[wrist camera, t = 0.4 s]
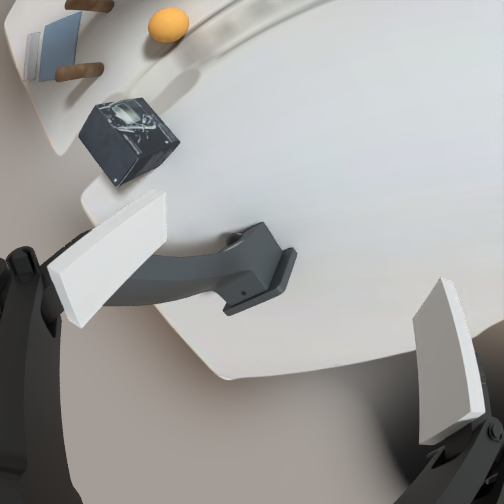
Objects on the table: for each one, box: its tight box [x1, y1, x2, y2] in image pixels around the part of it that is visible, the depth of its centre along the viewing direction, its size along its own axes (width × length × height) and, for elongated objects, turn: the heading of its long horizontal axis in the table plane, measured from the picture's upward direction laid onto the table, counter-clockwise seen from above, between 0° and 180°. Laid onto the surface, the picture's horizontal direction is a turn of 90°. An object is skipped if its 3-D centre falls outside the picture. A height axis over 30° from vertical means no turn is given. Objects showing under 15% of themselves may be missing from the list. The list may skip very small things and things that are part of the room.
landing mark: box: [39, 12, 82, 82], centre depth 33 cm, size 14×14×1 cm
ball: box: [148, 8, 189, 43], centre depth 26 cm, size 6×6×6 cm
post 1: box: [65, 0, 114, 12], centre depth 23 cm, size 3×3×9 cm
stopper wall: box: [23, 32, 40, 81], centre depth 34 cm, size 12×2×2 cm, turn 169°
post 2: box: [55, 62, 104, 82], centre depth 31 cm, size 3×3×9 cm
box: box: [79, 98, 180, 187], centre depth 35 cm, size 11×7×10 cm, turn 40°
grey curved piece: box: [102, 222, 297, 316], centre depth 33 cm, size 11×17×24 cm, turn 40°
